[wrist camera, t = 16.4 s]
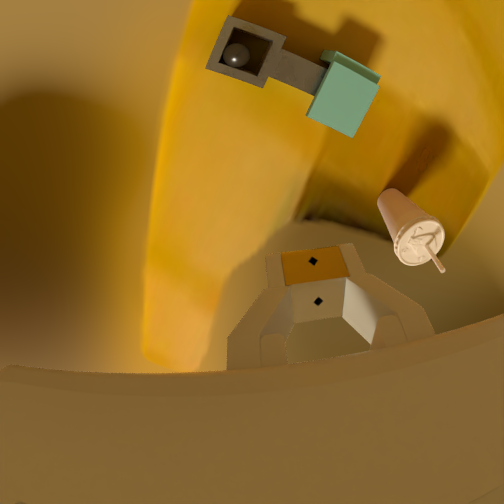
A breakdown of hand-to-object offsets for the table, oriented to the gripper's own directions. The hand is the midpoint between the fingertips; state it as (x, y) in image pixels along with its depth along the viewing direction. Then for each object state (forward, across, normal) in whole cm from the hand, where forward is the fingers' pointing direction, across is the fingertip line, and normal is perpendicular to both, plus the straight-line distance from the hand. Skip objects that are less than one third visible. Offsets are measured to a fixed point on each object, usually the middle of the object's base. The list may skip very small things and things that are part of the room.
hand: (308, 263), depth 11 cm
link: (+25, -3, -4) cm, 26 cm away
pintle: (+25, +2, -6) cm, 26 cm away
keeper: (+25, -7, -1) cm, 26 cm away
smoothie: (+26, -15, +14) cm, 33 cm away
